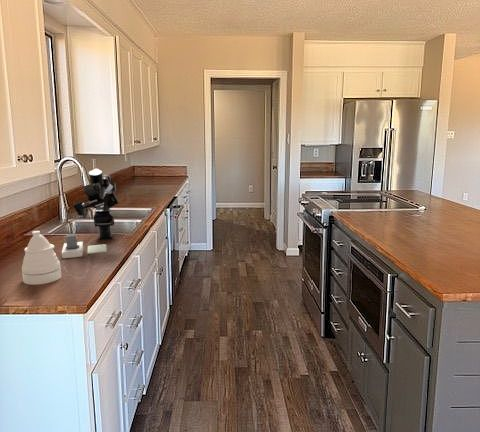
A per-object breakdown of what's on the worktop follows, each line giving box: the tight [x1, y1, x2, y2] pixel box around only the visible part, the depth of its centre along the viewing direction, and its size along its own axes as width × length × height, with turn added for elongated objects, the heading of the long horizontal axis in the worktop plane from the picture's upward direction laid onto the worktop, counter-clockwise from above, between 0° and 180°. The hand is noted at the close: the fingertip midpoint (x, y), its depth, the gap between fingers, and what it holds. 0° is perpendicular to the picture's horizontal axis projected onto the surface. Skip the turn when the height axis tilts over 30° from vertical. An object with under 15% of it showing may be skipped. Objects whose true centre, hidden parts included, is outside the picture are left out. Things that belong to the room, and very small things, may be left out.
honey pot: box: [21, 230, 62, 286], centre depth 159 cm, size 13×13×18 cm
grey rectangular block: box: [65, 233, 78, 250], centre depth 192 cm, size 4×4×8 cm
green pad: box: [86, 243, 107, 255], centre depth 197 cm, size 12×8×1 cm, turn 18°
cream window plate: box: [61, 241, 84, 259], centre depth 193 cm, size 16×8×2 cm, turn 18°
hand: (94, 214), depth 190 cm, fingers open, 9 cm apart
